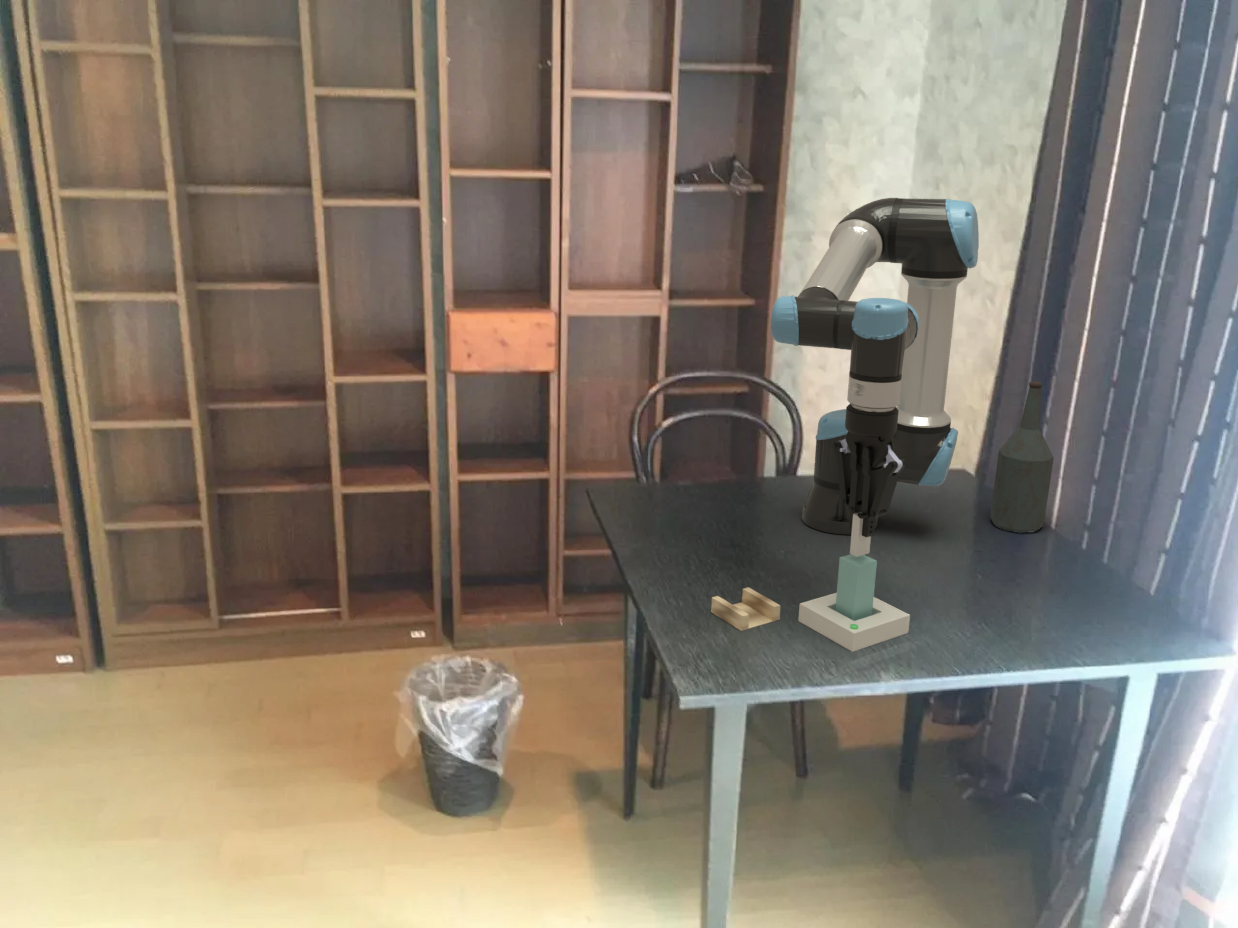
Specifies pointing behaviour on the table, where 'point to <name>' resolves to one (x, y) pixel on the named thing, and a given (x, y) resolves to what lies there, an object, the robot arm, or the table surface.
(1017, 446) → the bottle
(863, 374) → the robot arm
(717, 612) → the wooden cradle
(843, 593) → the plug
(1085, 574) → the table surface
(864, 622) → the frame
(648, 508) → the table surface
